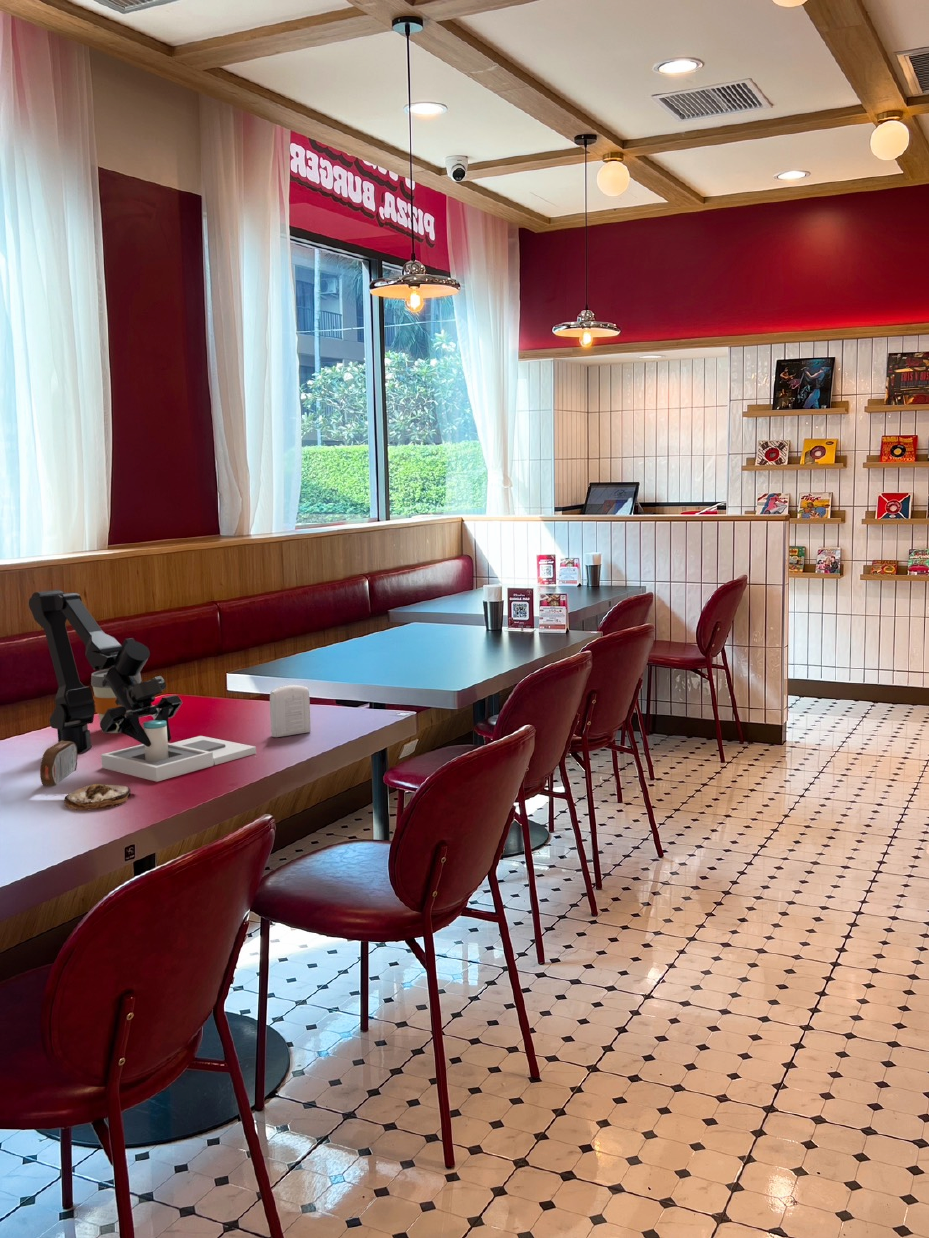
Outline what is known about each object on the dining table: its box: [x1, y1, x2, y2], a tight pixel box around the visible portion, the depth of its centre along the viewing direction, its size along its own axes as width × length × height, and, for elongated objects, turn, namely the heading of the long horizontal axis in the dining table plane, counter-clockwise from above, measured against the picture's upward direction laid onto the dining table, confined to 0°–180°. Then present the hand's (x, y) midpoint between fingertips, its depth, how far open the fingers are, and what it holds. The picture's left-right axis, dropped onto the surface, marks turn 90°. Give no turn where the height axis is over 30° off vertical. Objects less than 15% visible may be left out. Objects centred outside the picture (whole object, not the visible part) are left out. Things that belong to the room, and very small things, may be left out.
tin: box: [39, 741, 78, 787], centre depth 239 cm, size 15×3×8 cm, turn 178°
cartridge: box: [142, 719, 169, 762], centre depth 246 cm, size 5×5×10 cm
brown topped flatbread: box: [63, 783, 131, 811], centre depth 225 cm, size 15×15×4 cm
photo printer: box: [269, 684, 312, 738], centre depth 277 cm, size 10×4×12 cm, turn 123°
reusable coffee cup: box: [90, 669, 143, 734], centre depth 287 cm, size 13×13×15 cm
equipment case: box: [100, 735, 257, 783], centre depth 251 cm, size 20×28×4 cm
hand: (159, 742), depth 245 cm, fingers closed on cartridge, 5 cm apart
